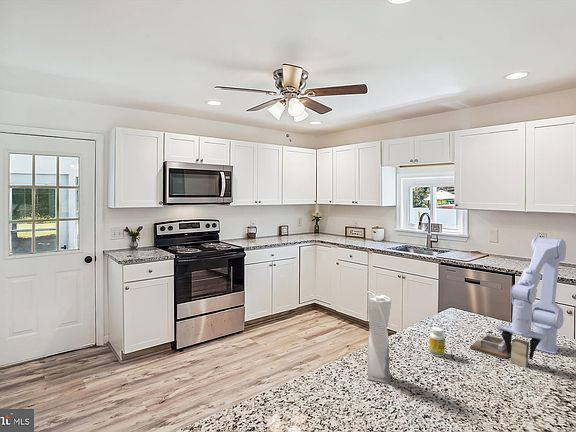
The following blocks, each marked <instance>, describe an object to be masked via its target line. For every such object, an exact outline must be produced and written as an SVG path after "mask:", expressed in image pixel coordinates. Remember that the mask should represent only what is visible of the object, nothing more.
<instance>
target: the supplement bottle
mask: <svg viewBox="0 0 576 432" xmlns="http://www.w3.org/2000/svg"><path fill="white" fill-rule="evenodd" d="M445 345H446V336H445V335H444V329H443V328H442V327H437V326H434V327H432V328H431V333H430V334H429V345H428V346H429V348H428V352H429V354H430V355H432V356H434V357H439V358H440V357H443V356H444V355H445Z"/></svg>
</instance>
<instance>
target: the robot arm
mask: <svg viewBox="0 0 576 432" xmlns="http://www.w3.org/2000/svg"><path fill="white" fill-rule="evenodd" d="M530 249H531V252H532V257H531V260H530V264H529V266H528V267H526V268H523V271H522V273H521V275H520V277H519V279H518V282H517V283H515V284H513V285H512V287H511V288H510V289H511V290H510V299H511V304H512V318H511V325H506V324H505V325H504V324H498V325H497V329H496V330H497V331H498V332H501V338H503V339H504V341H505V344H506V347H507V353H509V355H511V353H510V352H511V345H512V341H513V340H512V338H513V335H515V336H520V337H524V338H527V339H530V340H529V355H528V360H533V359H534V353H535V352H536V351H542V352H544V353H545V352H546V353H549V354H552V355H556V354H557V352H558V350H559V348H560V346H559V345H557V340H558V339H557V337H558V330H560V329H562V327H563V324H564V320H565V318H564V309H563V308H562V307H560V306H559V305H558V304H557V303H556V298H557V297H556V295H557V287H558V276H559V267H560V263H561V262H562V261H565V259H566V254H567V244H566V241H565V240H564V239H561V238H560V239H558V238H544V237H538V236H535V237H534V238H532V240H531V244H530ZM541 270H542V273H541ZM540 281H541V288H540V295H539V300H538V301H535V300H536V298H537V293H538V288H537V287H538V285H539V284H540ZM532 325H534V329H533V330H532Z"/></svg>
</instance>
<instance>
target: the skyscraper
mask: <svg viewBox="0 0 576 432" xmlns="http://www.w3.org/2000/svg"><path fill="white" fill-rule="evenodd" d="M366 294H367V305H368V308H367V309H368V324H369V325H368V326H369V331H368V339H367V340H368V341H367V377H366V378H367V379H366V380H367V381H370V382H375V383H381V384H386V385H390V384H391V378H392V372H391V369H390V361H391V356H390V345H389V344H390V343H389V333H388V325H389V320H390V315H391V308H392V305H391V304H392V299H391V298H390V297H389V296H386V295H384V294H380V295H376V294H375V293H374V292H372V291H370V290H368V291H367V292H366ZM369 294H372V295H373V296H374V297H370V295H369Z"/></svg>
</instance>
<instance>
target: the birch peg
mask: <svg viewBox="0 0 576 432" xmlns="http://www.w3.org/2000/svg"><path fill="white" fill-rule="evenodd" d="M511 345H512V350H511V353H510V355H511V356H510V364H512V365H516V366H518V367H521V368H526V367H527V366H528V364H529V354H530V341H527V340H524V339H520V338H514V339H513V340H511Z"/></svg>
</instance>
